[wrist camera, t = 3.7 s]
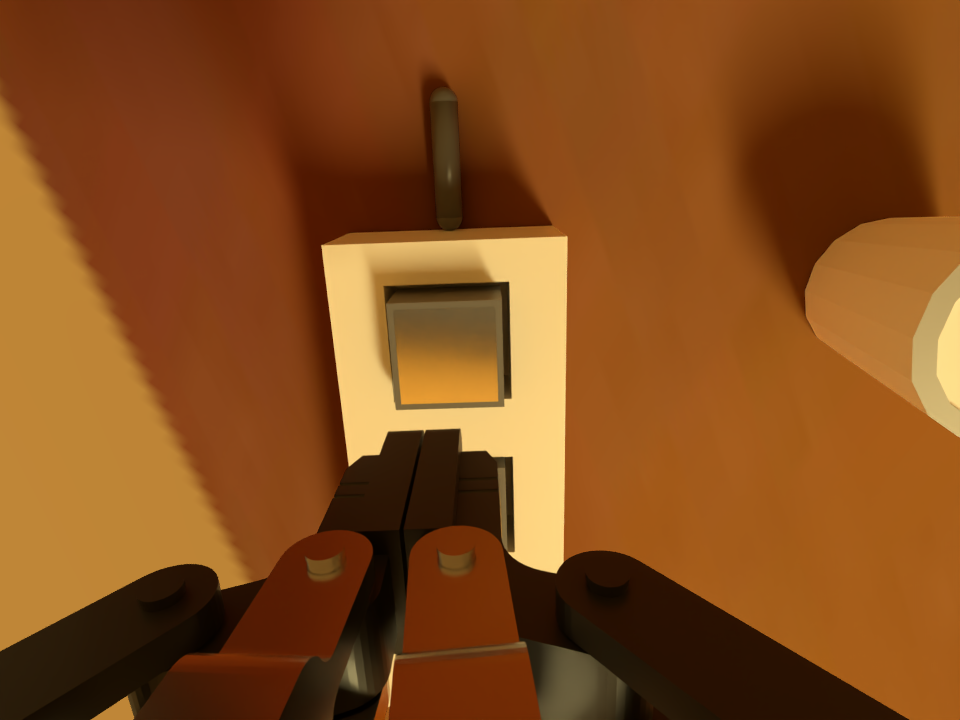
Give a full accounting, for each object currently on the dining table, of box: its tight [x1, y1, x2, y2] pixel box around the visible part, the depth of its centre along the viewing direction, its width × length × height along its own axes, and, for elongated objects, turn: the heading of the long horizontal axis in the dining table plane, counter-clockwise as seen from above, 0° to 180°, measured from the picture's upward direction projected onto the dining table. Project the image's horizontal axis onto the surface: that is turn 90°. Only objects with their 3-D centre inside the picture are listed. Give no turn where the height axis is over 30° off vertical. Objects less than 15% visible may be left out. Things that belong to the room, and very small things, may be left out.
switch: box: [386, 285, 504, 410], centre depth 19 cm, size 4×4×2 cm
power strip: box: [321, 87, 567, 707], centre depth 22 cm, size 25×8×4 cm, turn 2°
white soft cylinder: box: [805, 216, 960, 437], centre depth 19 cm, size 7×7×7 cm
